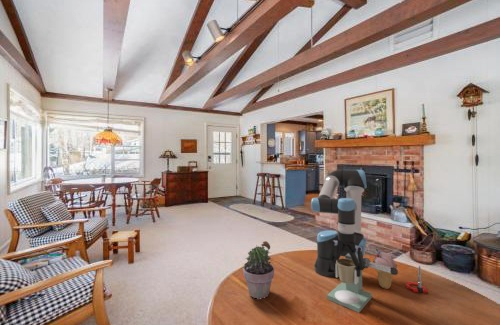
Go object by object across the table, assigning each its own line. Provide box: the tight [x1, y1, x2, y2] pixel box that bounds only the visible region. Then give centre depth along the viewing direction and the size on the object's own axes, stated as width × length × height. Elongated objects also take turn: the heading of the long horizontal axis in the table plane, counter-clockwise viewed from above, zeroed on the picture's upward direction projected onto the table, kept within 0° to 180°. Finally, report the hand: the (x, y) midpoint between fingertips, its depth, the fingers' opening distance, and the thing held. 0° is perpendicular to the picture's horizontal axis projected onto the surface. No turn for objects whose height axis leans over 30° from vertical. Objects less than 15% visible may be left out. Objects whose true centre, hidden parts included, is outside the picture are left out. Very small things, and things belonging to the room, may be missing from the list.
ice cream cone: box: [372, 248, 398, 290], centre depth 126 cm, size 11×11×20 cm
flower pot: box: [336, 257, 356, 284], centre depth 114 cm, size 9×9×9 cm
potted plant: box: [240, 241, 275, 300], centre depth 120 cm, size 18×20×25 cm
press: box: [326, 253, 373, 314], centre depth 116 cm, size 15×17×19 cm
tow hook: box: [405, 265, 429, 294], centre depth 124 cm, size 8×13×9 cm
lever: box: [363, 257, 399, 276], centre depth 112 cm, size 16×3×4 cm, turn 45°
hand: (346, 279), depth 114 cm, fingers closed on flower pot, 8 cm apart
